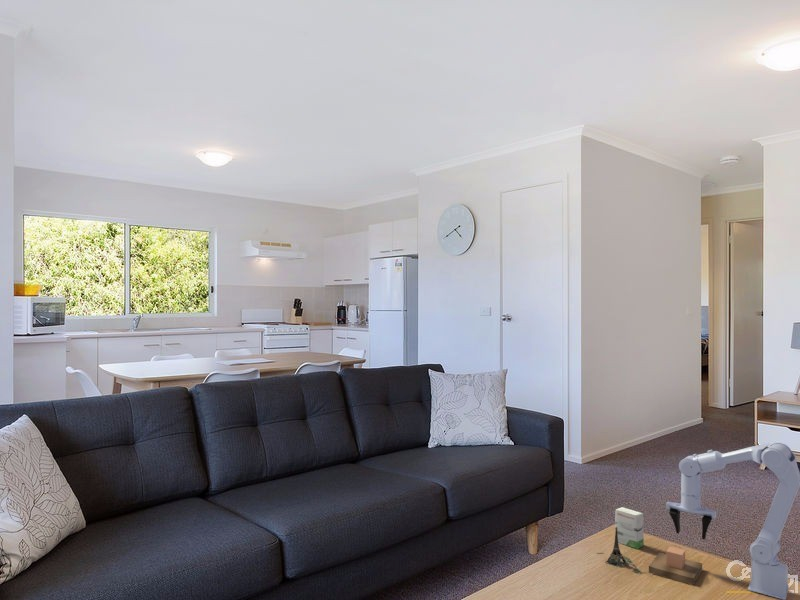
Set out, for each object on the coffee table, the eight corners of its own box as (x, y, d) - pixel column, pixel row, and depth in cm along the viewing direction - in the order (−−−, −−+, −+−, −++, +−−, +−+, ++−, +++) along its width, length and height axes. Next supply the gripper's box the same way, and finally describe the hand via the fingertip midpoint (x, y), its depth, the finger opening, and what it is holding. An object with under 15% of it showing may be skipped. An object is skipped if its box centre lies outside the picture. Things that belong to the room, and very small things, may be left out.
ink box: (644, 546, 204) (644, 512, 204) (637, 549, 201) (637, 516, 201) (621, 538, 211) (621, 505, 211) (614, 541, 207) (614, 508, 207)
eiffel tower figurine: (642, 575, 183) (642, 533, 183) (610, 575, 183) (610, 533, 183) (624, 554, 198) (624, 516, 198) (595, 554, 198) (595, 515, 198)
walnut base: (702, 569, 186) (702, 563, 186) (693, 585, 176) (693, 578, 176) (659, 558, 194) (659, 552, 194) (648, 572, 184) (648, 566, 184)
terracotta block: (685, 564, 185) (685, 550, 185) (681, 569, 182) (682, 555, 182) (669, 560, 188) (669, 546, 188) (666, 565, 185) (666, 551, 185)
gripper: (718, 494, 187) (717, 536, 187) (669, 486, 196) (669, 526, 196) (714, 500, 181) (714, 544, 181) (664, 491, 190) (664, 532, 190)
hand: (690, 535), depth 188 cm, fingers open, 7 cm apart
